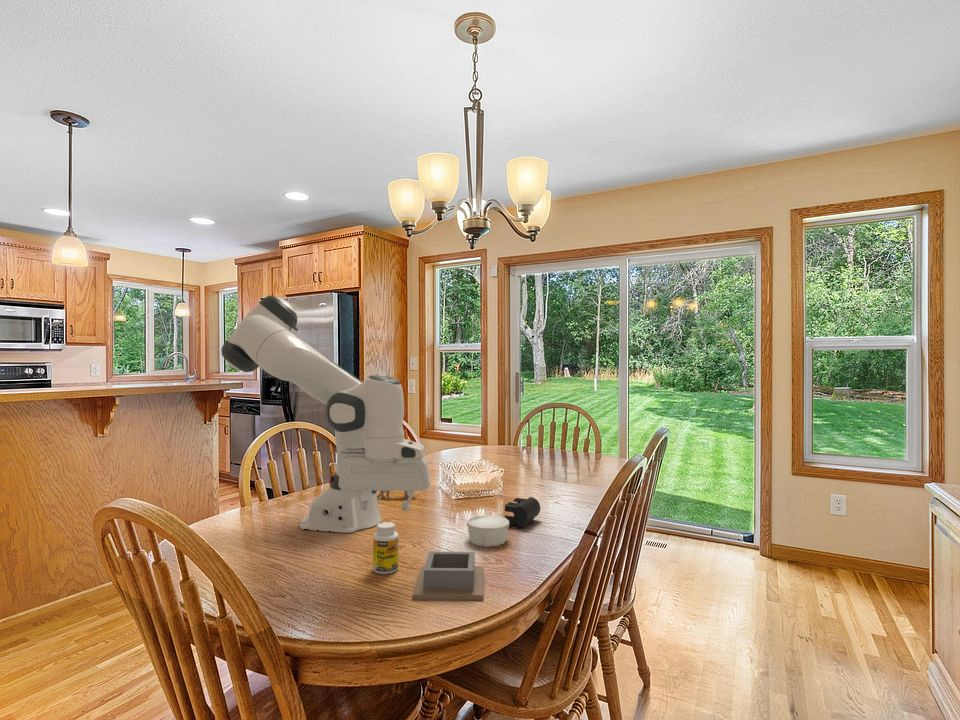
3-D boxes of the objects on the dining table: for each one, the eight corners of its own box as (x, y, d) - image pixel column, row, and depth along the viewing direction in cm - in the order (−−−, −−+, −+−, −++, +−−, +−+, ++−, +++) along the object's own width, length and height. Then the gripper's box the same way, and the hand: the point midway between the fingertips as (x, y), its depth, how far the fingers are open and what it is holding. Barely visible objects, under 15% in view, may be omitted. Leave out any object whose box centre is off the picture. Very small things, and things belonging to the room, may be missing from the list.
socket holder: (412, 599, 103) (412, 574, 102) (421, 570, 117) (421, 548, 116) (483, 600, 102) (483, 575, 102) (483, 570, 116) (483, 548, 116)
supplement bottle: (373, 576, 113) (373, 529, 113) (372, 566, 119) (372, 521, 119) (399, 574, 115) (399, 527, 114) (397, 564, 120) (397, 520, 120)
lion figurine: (418, 495, 179) (418, 469, 179) (420, 499, 174) (420, 472, 174) (375, 497, 176) (375, 471, 176) (376, 502, 171) (376, 474, 171)
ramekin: (480, 531, 143) (480, 512, 143) (516, 538, 137) (516, 518, 137) (458, 543, 133) (458, 523, 133) (496, 552, 128) (496, 530, 128)
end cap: (527, 531, 143) (527, 506, 143) (504, 527, 146) (504, 503, 146) (540, 520, 152) (540, 497, 152) (518, 517, 155) (518, 494, 155)
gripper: (334, 450, 113) (334, 513, 113) (427, 450, 113) (428, 514, 113) (342, 445, 120) (343, 505, 120) (431, 445, 119) (431, 505, 119)
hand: (385, 509), depth 116 cm, fingers open, 8 cm apart
